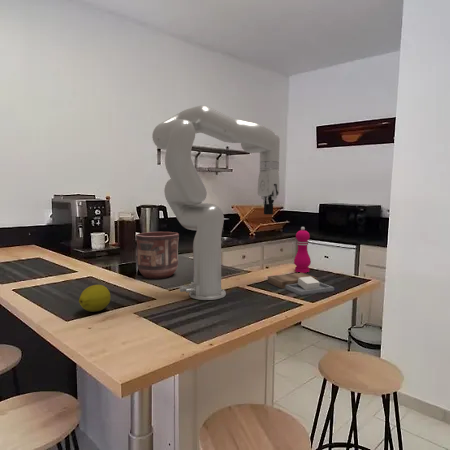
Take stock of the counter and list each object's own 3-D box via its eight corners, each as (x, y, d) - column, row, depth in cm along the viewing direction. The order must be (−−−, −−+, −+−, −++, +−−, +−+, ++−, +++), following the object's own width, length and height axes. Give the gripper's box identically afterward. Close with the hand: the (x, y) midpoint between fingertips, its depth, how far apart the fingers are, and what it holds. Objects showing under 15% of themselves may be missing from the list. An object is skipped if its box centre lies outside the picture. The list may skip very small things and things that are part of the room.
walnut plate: (281, 288, 139) (281, 281, 138) (267, 282, 148) (267, 276, 147) (317, 284, 145) (317, 277, 145) (301, 278, 154) (301, 272, 154)
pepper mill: (291, 272, 166) (292, 227, 164) (296, 269, 172) (297, 225, 170) (308, 273, 163) (308, 227, 161) (312, 270, 169) (313, 226, 167)
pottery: (175, 280, 151) (175, 236, 150) (132, 280, 152) (131, 236, 150) (181, 271, 169) (181, 231, 168) (142, 271, 169) (142, 231, 168)
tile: (306, 290, 134) (307, 283, 134) (297, 284, 139) (298, 277, 139) (318, 288, 137) (319, 282, 136) (309, 282, 141) (310, 276, 141)
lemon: (102, 304, 120) (101, 280, 119) (118, 309, 116) (117, 283, 115) (71, 313, 111) (70, 287, 111) (86, 319, 107) (85, 291, 106)
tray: (301, 295, 129) (301, 291, 129) (285, 289, 138) (285, 284, 138) (334, 291, 135) (334, 287, 134) (316, 284, 144) (316, 281, 144)
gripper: (252, 168, 152) (251, 213, 154) (269, 165, 138) (268, 215, 140) (268, 168, 155) (267, 213, 157) (287, 166, 141) (286, 215, 143)
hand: (268, 214), depth 148 cm, fingers closed
